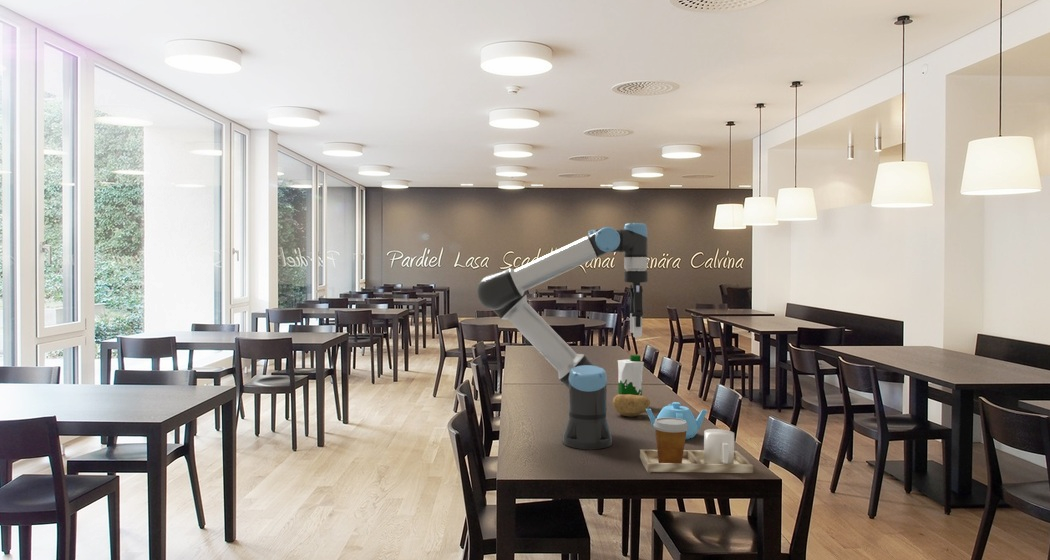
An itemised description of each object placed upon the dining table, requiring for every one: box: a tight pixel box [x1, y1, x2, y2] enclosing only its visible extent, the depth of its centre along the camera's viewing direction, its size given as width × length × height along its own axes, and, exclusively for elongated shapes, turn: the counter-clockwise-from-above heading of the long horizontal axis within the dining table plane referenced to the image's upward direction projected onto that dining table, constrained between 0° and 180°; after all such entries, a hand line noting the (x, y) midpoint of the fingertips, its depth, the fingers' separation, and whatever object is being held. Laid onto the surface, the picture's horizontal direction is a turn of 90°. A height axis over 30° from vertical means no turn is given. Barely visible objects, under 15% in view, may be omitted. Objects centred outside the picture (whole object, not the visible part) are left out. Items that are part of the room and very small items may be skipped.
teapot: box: [645, 401, 708, 440], centre depth 220 cm, size 15×15×11 cm
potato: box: [611, 394, 651, 417], centre depth 247 cm, size 10×14×8 cm
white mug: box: [703, 428, 735, 464], centre depth 184 cm, size 8×11×9 cm
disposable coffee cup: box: [652, 417, 688, 463], centre depth 186 cm, size 10×10×12 cm
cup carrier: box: [639, 449, 754, 474], centre depth 185 cm, size 28×14×2 cm, turn 89°
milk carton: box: [617, 354, 645, 396], centre depth 264 cm, size 9×9×20 cm
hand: (635, 335), depth 220 cm, fingers open, 13 cm apart
